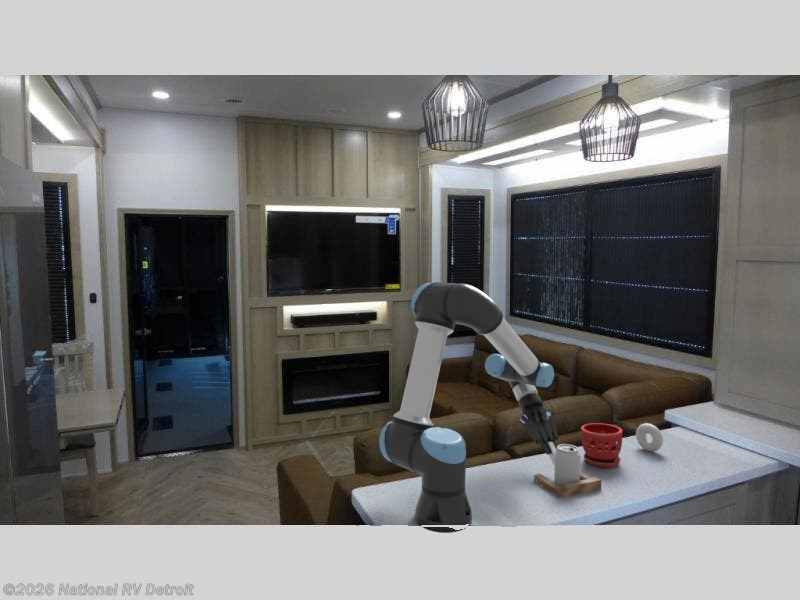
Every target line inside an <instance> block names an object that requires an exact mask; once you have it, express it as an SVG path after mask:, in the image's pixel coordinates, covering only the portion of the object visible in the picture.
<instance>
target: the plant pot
mask: <svg viewBox="0 0 800 600" xmlns="http://www.w3.org/2000/svg"><path fill="white" fill-rule="evenodd" d="M602 432H604V433H602ZM580 438H581V444H582V449H583V451H584V454H583V459H584V460H585V461H586V462H587V463H589V464H590V465H591V466H595V467H599V468H600V467H601V468H611V467H616V466H617V465H619V464H620V462H621V460H622V459H621V457H620V456H619V455H620V453H621V450H622V445H623V429H621V428H620V427H619V426H617V425H614V424H608V423H600V422H597V423H596V422H595V423H593V422H591V423H586V424H583V425H582V426H581V427H580Z"/></svg>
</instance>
